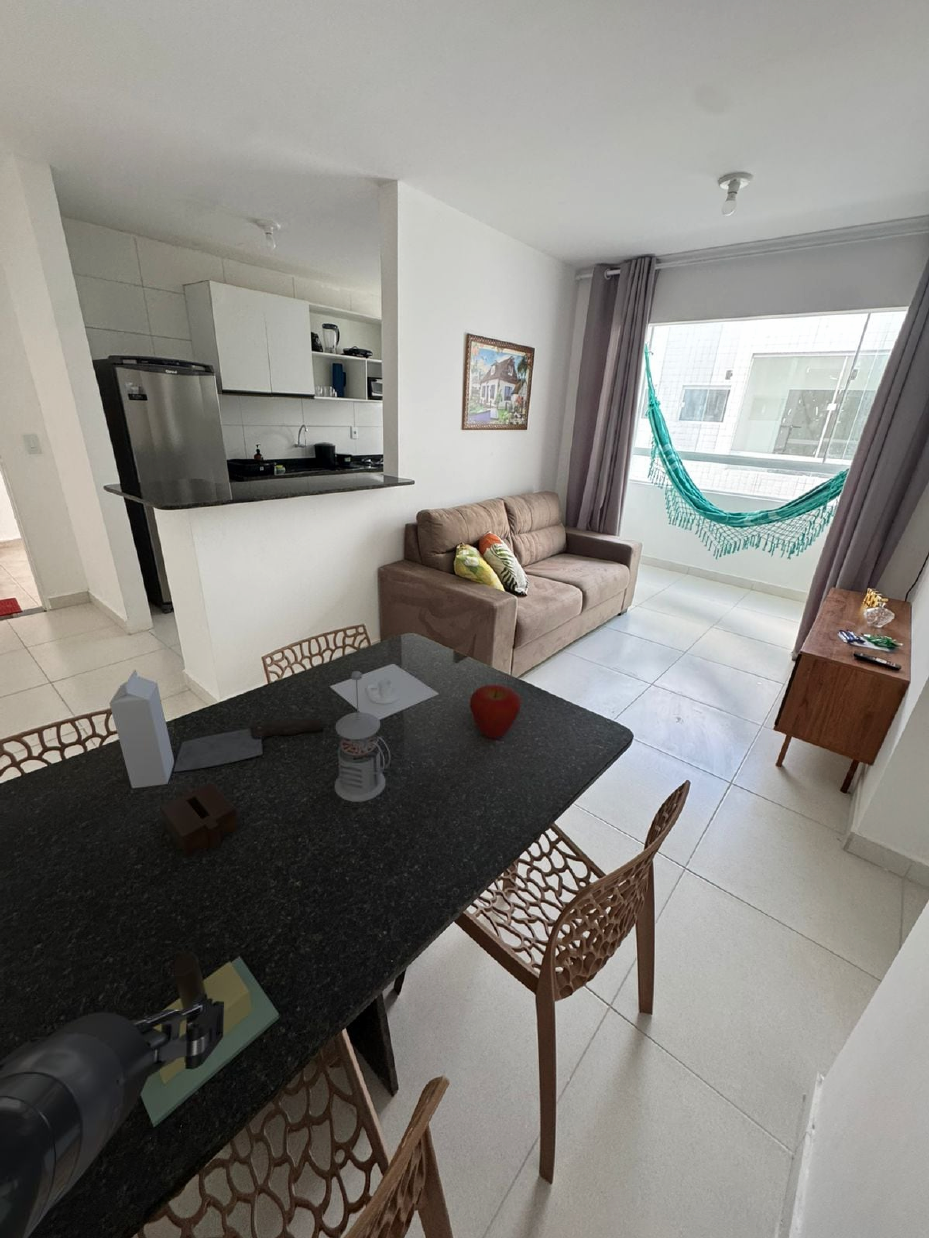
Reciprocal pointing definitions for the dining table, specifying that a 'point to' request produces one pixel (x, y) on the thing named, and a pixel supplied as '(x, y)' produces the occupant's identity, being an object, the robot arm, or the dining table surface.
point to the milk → (142, 732)
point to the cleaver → (237, 743)
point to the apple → (494, 709)
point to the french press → (359, 755)
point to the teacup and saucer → (384, 691)
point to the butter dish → (242, 1025)
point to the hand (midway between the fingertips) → (150, 1017)
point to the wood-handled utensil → (188, 978)
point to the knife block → (199, 818)
